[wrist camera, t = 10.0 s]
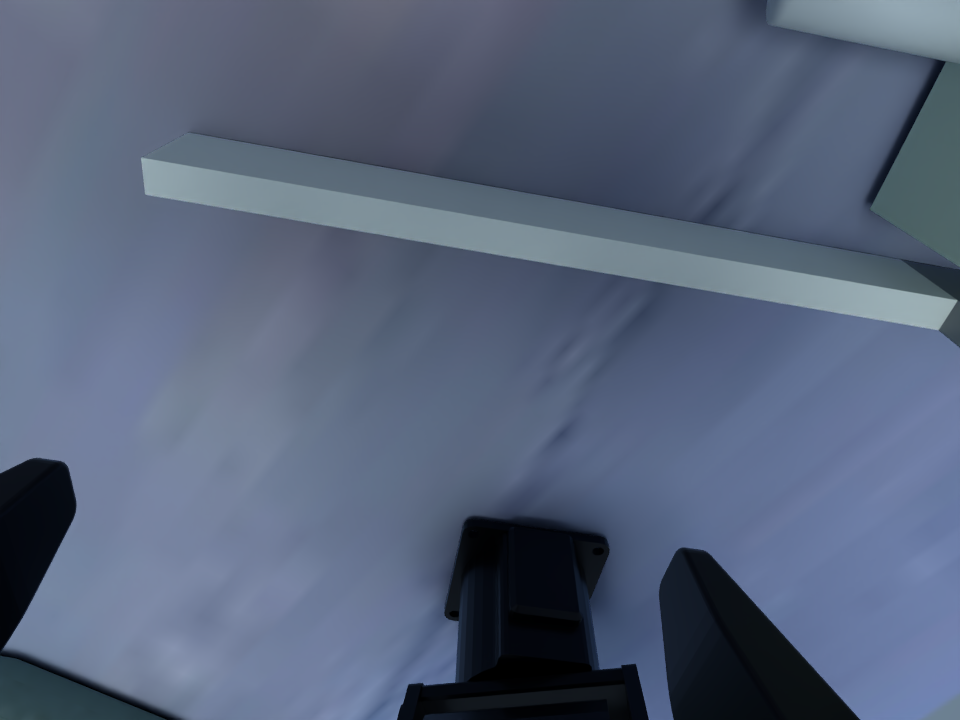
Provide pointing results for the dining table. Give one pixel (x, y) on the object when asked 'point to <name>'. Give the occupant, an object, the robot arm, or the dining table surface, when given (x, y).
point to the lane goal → (551, 231)
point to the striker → (941, 122)
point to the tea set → (56, 697)
